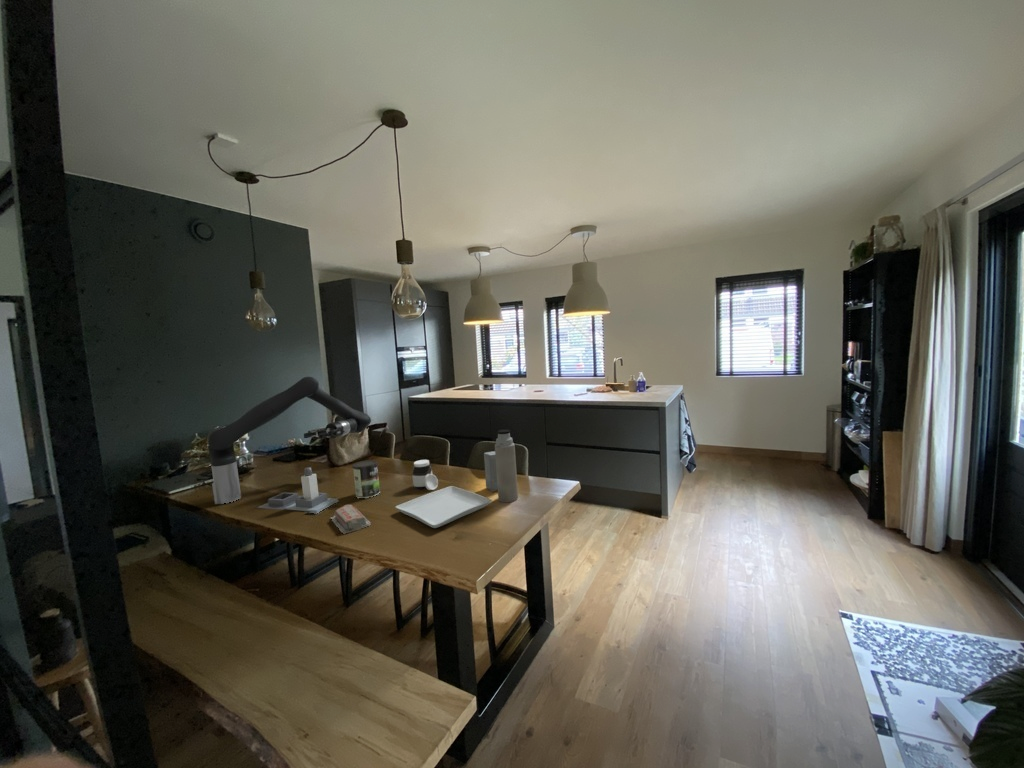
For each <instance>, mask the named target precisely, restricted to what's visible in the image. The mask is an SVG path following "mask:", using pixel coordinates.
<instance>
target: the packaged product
mask: <svg viewBox="0 0 1024 768" xmlns="http://www.w3.org/2000/svg"><path fill="white" fill-rule="evenodd" d="M333 513H334V515H333V516H332V517H331V516H330V520H331V519H332V520H331V522H333V524H334V525H335V526H336V528H337V527H338V528H339V529H338V528H337V529H338V530H339V531H340V532H341V534H342V533H343V534H344V535H346V533H347V534H350V533H353V532H356V531H359V530H362V529H361V528H363V529H365V528H364V527H366V528H368V527H367V526H369V527H371V526H372V525H371V523H372V522H371V521H370V520H369V519H367V517H366V516H365V515H364V514H362V512H361V511H360V510H358V509H357V507H355V506H353V504H345V505H343V506H341V507H340V508H337V509H336V510H335V511H334V512H333ZM370 525H371V526H370ZM343 534H342V535H343Z"/></svg>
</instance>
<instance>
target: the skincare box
mask: <svg viewBox="0 0 1024 768" xmlns="http://www.w3.org/2000/svg"><path fill="white" fill-rule="evenodd" d="M483 459H484V460H483V461H484V475H485V488H487V490H489V491H490V492H491V493H492V492H498V486H497V472H496V458H495V450H494V451H487V452H484V453H483Z"/></svg>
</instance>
